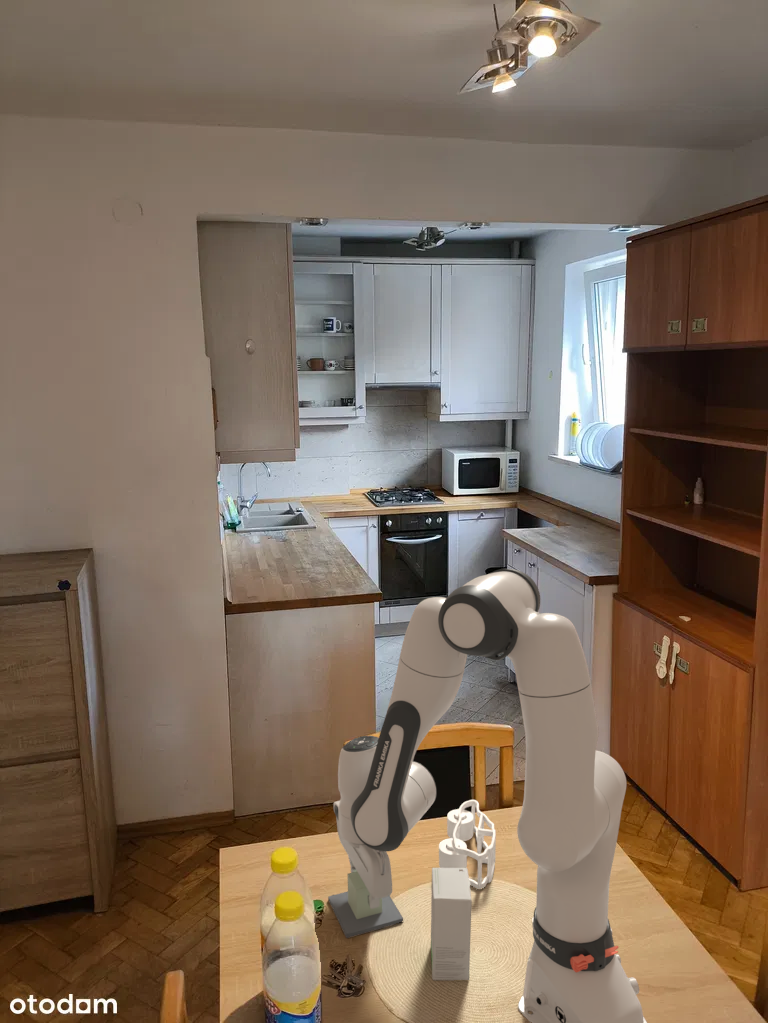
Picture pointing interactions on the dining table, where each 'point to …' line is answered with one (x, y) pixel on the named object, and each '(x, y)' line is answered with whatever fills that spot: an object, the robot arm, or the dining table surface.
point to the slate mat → (365, 924)
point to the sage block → (360, 897)
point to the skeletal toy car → (462, 830)
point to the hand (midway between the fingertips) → (364, 889)
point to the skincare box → (450, 924)
